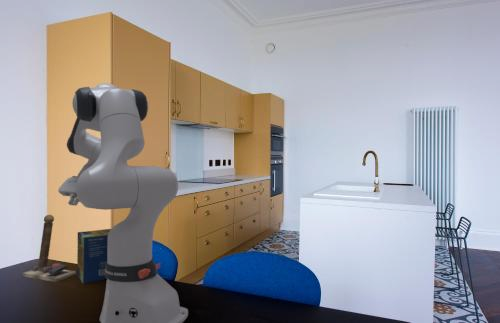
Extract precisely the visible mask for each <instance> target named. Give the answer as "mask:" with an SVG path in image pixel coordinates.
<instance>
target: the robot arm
mask: <svg viewBox="0 0 500 323" xmlns="http://www.w3.org/2000/svg"><path fill="white" fill-rule="evenodd" d="M72 97H73V98H72V101H71V102H72V109H73V111H74V113H75V115H76V119H75V121H74V124H73V127H72V130H71V133H70V135H69V137H68V139H67V141H66V148H67V150H68V151H69V153H71V154H73V155H77V156H79V157H82V158H85V159H87V162H86V163H85V164H84V165H83V166H82V168H81V169H80V170H79V172H78V174H77V176H76V175H72V176H71V177H68V178H67V179H66V180H65V181H64V182H63V183H62V184H61V185H60V187H58V190H57V192H58V193H59V194H60V195H61V196H63V197H69V200H68V202H67V204H68V205H69V206H78V204H79V203H81V204H82V206H83V207H85V208H88V209H95V210H102V211H103V210H105V211H106V210H117V209H118V210H120V209H130V210H129V213H128V215H127V216H126V217H125V219H123V220H122V221H120V222H118V223H117V224H115V225H114V226H113V227H112V228H110V229H111V230H110V232H109V234H108V243H107V262H106V265H105V277H106V278H107V280H106V284H105V293H104V299H103V304H102V309H101V313H100V316H99V322H100V323H184V322H185V320H186V319H187V318H188V316H189V309H188V308H186V307H183V306H180V300H179V294H178V291H177V290H176V289H175V288H174V287H172V286H171V284H169V283H168V282H167V281H166V280H165V279H163V277H162V276H160V275H159V274H158V273H159V272H158V269H160V268H161V262H158V263H155V261H154V258H153V239H154V232H155V231H154V230H155V226H156V223H157V221H158V218H159V217H160V215H161V213H162V212H163V211H164V209H165V208H166V207H167V206H168V205H169V204H170V203H172V202H173V200H174V199H175V198H176V196H177V194H178V190H179V181H178V178H177V176H176V174H175V172H174V171H173V170H171V169H169V168H165V167H161V166H155V165H152V166H151V165H150V166H149V165H147V166H146V165H144V166H142V165H135V166H134V165H129V164H128V161H129V160H132V159H134V158H135V157H137V156H138V155H139V154H141V152H142V151H143V149H144V147H145V144H146V143H145V138H144V132H143V126H142V122H143V121H144V120H146V117H147V115H148V112H149V102H148V99H147V96H146V94H145V93H144V92H143V91H141V90H137V89H127V88H118V87H117V86H116V85H114V84H112V83H108V82H107V83H105V82H104V83H100V84H98V85H96V86H95V87H90V86H86V87H85V86H84V87H80V88H77V90H75V92H74V95H73V96H72ZM87 130H91V131H94V132H95V131H96V132H99V133H100V138H99V137H97V136H95V135H92V134H90V133H89V132H87Z"/></svg>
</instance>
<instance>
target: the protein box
mask: <svg viewBox="0 0 500 323" xmlns="http://www.w3.org/2000/svg"><path fill="white" fill-rule="evenodd" d="M111 229H112V228H106V229H96V230H86V231H79V232H77V253H76V254H77V256H76V257H77V263H76V264H77V266H76V270H77V271H76V275H77V277H78V278H79V280H80V282H81V283H82V285H84V284H90V282H91V283H94V281H96V282H100V281H99V280H101V281H105V280H104V279H107V278H106V277H105V265H106V262H107V243H108V234H109V232H110V230H111Z"/></svg>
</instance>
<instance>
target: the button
mask: <svg viewBox="0 0 500 323" xmlns="http://www.w3.org/2000/svg"><path fill="white" fill-rule="evenodd" d="M59 265H61V263H52V264H51V267H52V269H53V268H55V267H57V266H59Z"/></svg>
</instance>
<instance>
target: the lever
mask: <svg viewBox="0 0 500 323" xmlns="http://www.w3.org/2000/svg"><path fill="white" fill-rule="evenodd" d="M43 221H44V223H43V229H42V234H41V235H42V237H41V244H40V250H39V251H40V252H39V258H38V264H37V266H38V268H37V269H38V270H43V269H44V268H47V267H48V263H49V257H50V254H49V253H50V248H51V240H52V233H53V226H54V225H53V224H54V223H53V222H54V221H55V217H54V216H53V215H52V214H46V215H45V216H44V218H43Z"/></svg>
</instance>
